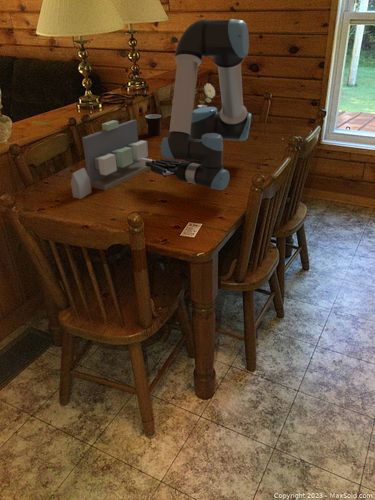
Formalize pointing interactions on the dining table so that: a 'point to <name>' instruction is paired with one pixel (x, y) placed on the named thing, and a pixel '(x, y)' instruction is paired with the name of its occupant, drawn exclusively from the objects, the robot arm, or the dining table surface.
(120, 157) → the key middle
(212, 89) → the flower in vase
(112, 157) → the key
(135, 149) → the key
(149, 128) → the coffee mug
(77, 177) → the grey upright block
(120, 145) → the grey upright panel
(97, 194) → the dining table surface
